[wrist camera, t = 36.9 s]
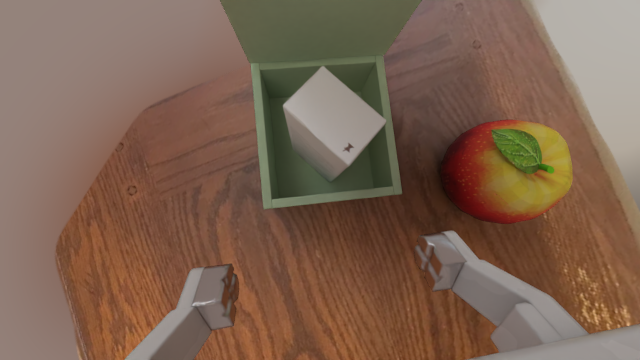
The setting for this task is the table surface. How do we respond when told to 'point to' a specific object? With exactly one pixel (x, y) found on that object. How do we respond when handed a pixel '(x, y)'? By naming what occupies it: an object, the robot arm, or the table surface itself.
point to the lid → (316, 27)
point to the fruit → (507, 171)
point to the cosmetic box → (329, 124)
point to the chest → (293, 171)
